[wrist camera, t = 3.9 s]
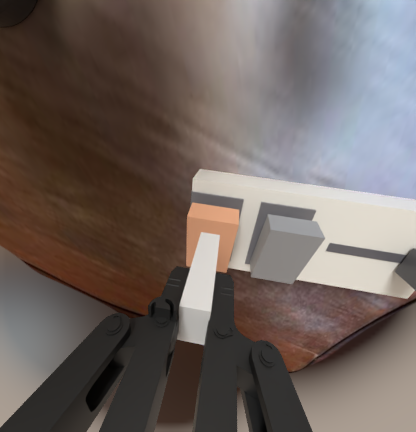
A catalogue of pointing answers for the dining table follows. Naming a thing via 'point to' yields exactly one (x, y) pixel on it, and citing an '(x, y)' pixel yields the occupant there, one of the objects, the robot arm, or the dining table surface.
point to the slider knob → (408, 269)
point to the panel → (321, 227)
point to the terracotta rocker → (212, 230)
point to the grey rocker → (284, 248)
